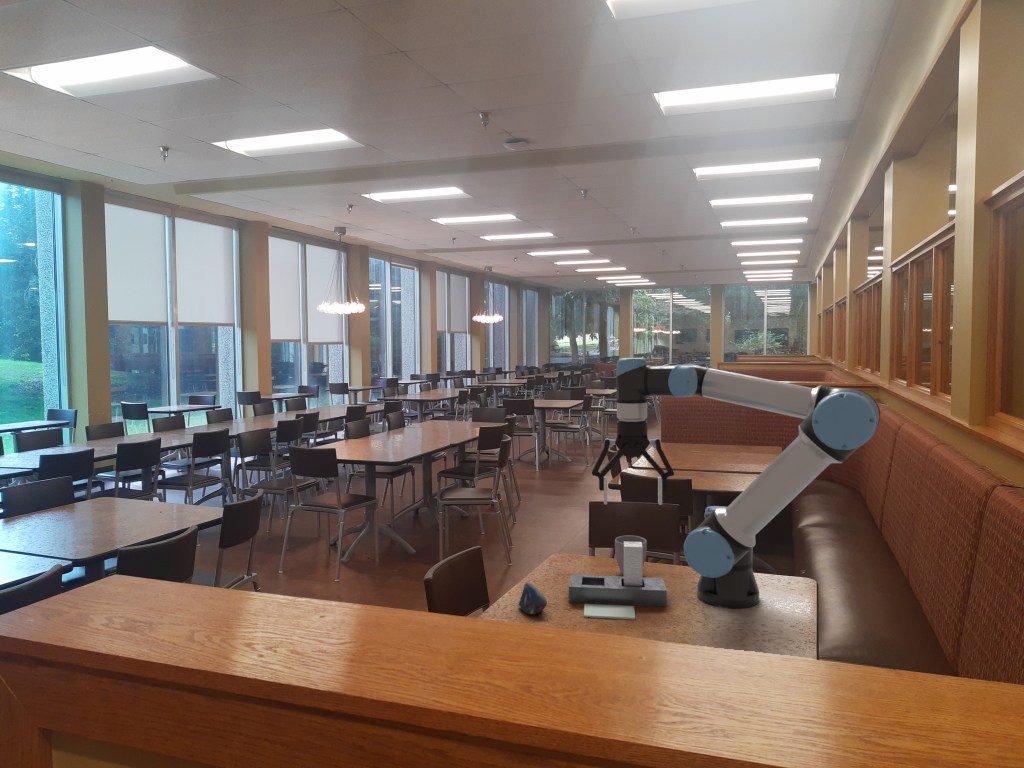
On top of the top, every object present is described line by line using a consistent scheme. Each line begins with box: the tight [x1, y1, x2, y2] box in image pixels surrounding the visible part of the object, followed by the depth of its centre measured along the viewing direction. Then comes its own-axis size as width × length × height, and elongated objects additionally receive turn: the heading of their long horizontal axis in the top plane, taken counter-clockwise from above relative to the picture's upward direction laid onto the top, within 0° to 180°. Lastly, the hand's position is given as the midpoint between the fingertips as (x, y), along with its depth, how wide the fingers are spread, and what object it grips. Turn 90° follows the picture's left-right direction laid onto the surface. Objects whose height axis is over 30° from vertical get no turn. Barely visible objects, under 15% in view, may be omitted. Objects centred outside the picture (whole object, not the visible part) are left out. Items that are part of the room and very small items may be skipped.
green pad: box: [583, 603, 636, 621], centre depth 165 cm, size 12×7×1 cm, turn 82°
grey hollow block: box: [568, 574, 668, 607], centre depth 175 cm, size 24×9×4 cm, turn 82°
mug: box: [614, 534, 648, 576], centre depth 191 cm, size 12×9×10 cm
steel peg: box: [623, 541, 643, 587], centre depth 174 cm, size 4×4×14 cm
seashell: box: [518, 582, 548, 615], centre depth 168 cm, size 6×9×10 cm
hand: (632, 503), depth 172 cm, fingers open, 13 cm apart
